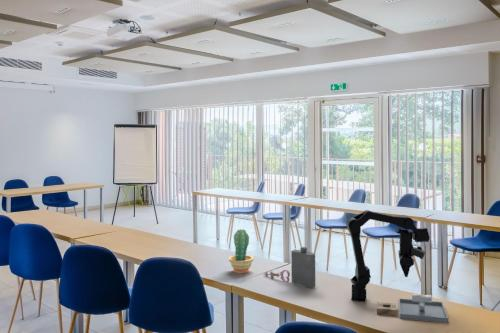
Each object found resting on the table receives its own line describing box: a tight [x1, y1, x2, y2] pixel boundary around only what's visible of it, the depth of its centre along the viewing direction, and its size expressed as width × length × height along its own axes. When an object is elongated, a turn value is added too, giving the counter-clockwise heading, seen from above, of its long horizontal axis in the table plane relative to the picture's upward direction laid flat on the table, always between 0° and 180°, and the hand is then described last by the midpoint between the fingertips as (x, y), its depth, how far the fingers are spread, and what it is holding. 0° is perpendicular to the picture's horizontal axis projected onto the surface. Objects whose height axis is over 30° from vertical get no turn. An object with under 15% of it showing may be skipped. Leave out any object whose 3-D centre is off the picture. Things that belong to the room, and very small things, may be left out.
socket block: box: [376, 301, 397, 316], centre depth 194 cm, size 8×8×2 cm
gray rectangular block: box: [411, 293, 433, 312], centre depth 193 cm, size 8×2×7 cm, turn 73°
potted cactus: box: [228, 228, 255, 274], centre depth 259 cm, size 15×15×25 cm
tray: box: [397, 297, 449, 324], centre depth 193 cm, size 19×19×2 cm
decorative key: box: [263, 269, 291, 283], centre depth 244 cm, size 7×1×20 cm
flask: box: [290, 246, 316, 289], centre depth 233 cm, size 15×6×20 cm, turn 44°
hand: (405, 274), depth 209 cm, fingers open, 9 cm apart
